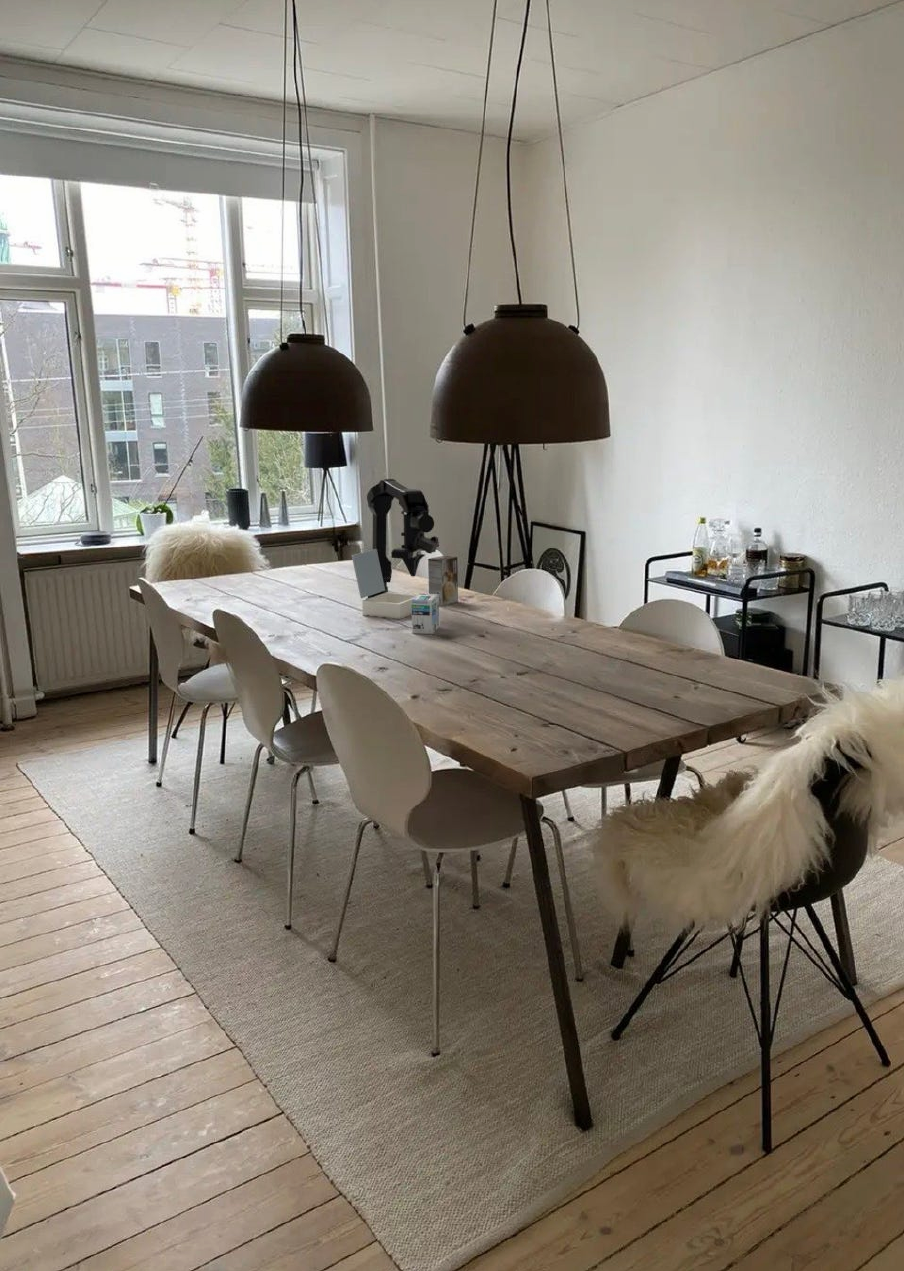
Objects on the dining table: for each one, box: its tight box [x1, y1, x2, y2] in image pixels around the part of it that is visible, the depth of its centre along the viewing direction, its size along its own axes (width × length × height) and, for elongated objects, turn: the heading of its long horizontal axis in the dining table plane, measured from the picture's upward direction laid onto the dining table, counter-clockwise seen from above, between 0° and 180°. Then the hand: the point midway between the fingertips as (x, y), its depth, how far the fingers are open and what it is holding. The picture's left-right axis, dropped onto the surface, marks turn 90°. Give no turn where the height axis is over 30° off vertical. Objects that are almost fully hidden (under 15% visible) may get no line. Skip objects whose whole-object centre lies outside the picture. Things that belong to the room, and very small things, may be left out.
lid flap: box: [351, 548, 385, 599], centre depth 332 cm, size 15×15×1 cm
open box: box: [361, 591, 418, 620], centre depth 331 cm, size 14×16×5 cm
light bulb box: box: [411, 592, 440, 635], centre depth 305 cm, size 11×7×11 cm, turn 168°
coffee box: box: [427, 555, 459, 607], centre depth 345 cm, size 9×6×16 cm
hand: (413, 576), depth 325 cm, fingers closed
